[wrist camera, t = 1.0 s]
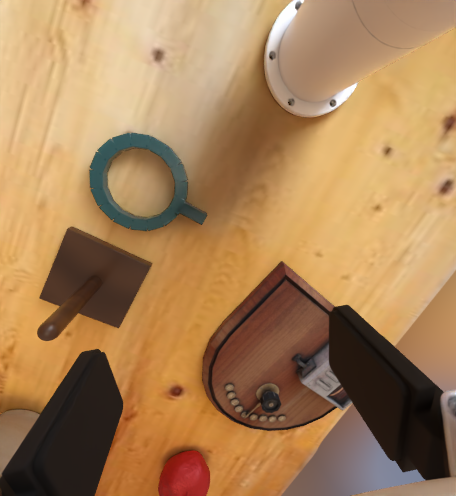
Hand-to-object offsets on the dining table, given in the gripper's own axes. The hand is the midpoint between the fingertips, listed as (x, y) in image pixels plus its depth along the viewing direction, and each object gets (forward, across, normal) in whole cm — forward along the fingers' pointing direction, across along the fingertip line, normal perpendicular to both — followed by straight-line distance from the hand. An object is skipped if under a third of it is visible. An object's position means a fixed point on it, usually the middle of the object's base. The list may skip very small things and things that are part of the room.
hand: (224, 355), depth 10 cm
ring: (+27, +7, -5) cm, 28 cm away
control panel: (+27, -10, +30) cm, 41 cm away
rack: (+27, +18, +6) cm, 33 cm away
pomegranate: (+27, +13, +50) cm, 59 cm away
